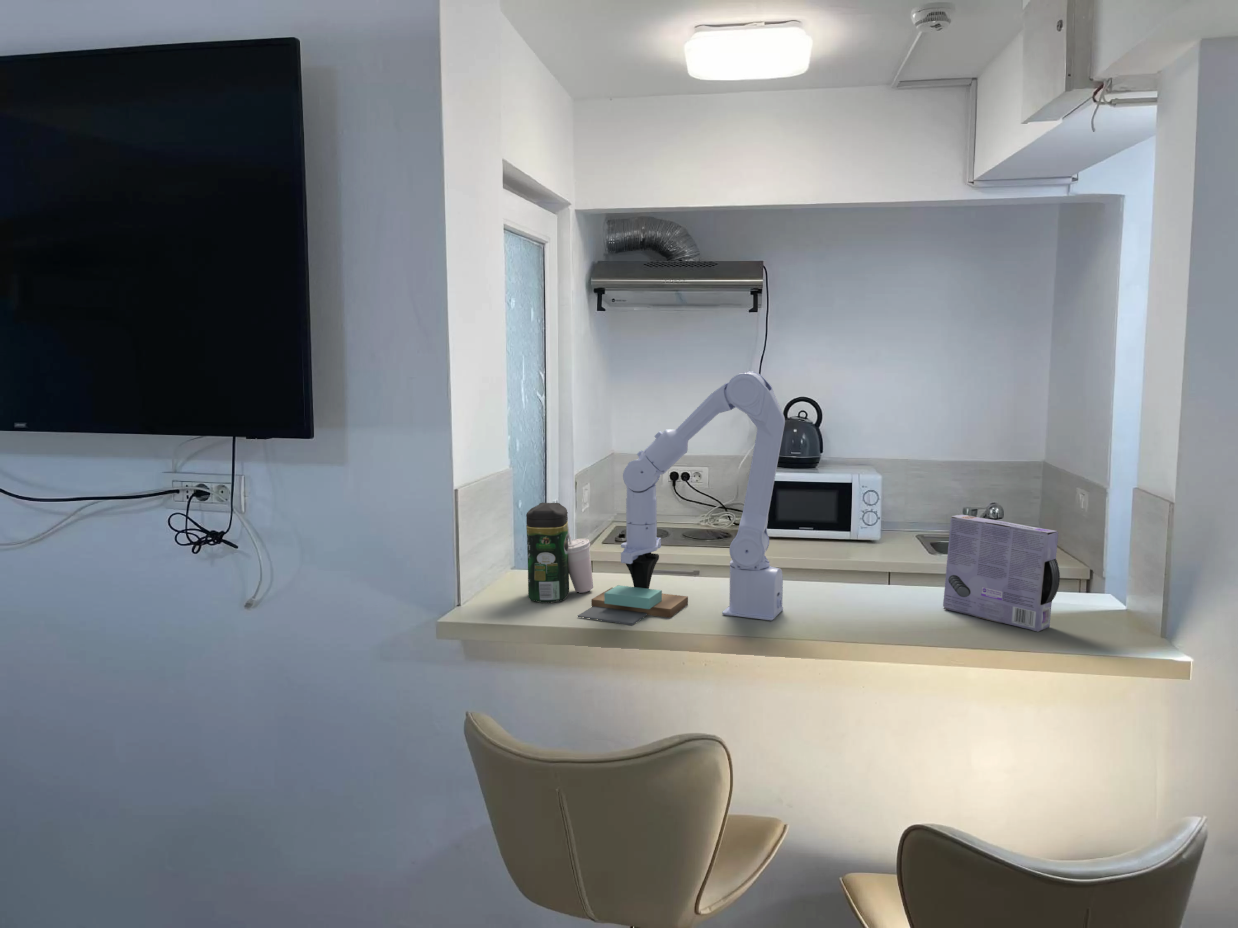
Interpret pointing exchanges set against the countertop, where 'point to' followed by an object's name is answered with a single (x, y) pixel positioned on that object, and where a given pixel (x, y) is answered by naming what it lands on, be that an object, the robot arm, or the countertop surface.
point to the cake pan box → (1001, 571)
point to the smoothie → (580, 564)
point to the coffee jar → (547, 553)
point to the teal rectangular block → (633, 597)
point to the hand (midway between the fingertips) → (641, 592)
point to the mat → (613, 615)
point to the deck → (663, 608)
